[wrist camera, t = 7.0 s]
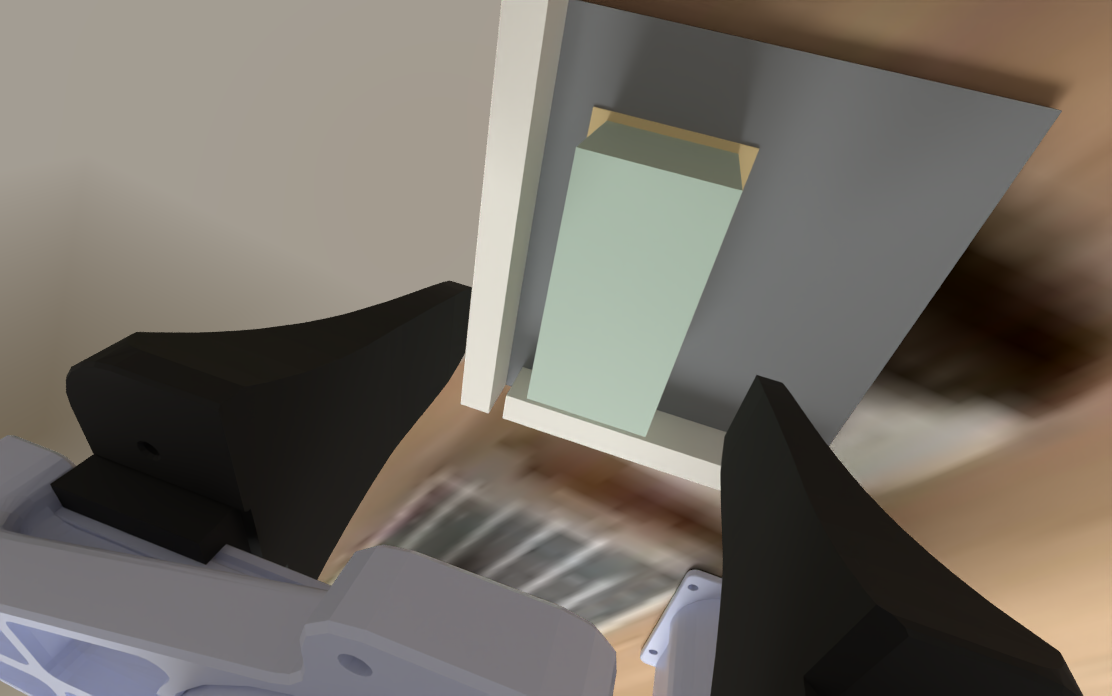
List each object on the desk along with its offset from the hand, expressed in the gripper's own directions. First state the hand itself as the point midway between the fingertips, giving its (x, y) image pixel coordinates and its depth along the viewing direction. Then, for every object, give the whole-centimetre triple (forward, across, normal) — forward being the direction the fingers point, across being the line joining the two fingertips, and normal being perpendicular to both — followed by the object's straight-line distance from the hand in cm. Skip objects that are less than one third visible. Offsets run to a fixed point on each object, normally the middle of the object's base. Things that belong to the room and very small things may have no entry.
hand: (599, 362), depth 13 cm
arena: (+7, -2, 0) cm, 7 cm away
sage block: (+6, 0, 0) cm, 6 cm away
